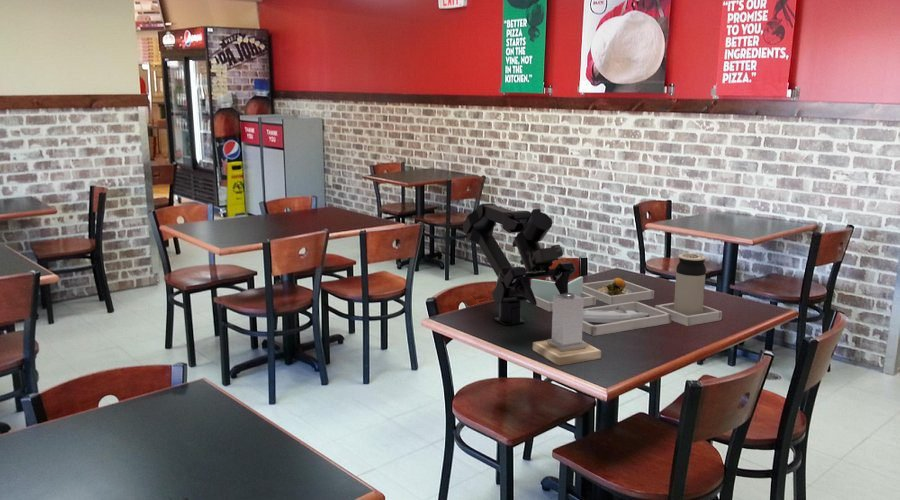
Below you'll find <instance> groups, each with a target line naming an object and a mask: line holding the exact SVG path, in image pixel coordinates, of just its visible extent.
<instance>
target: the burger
mask: <svg viewBox="0 0 900 500" xmlns="http://www.w3.org/2000/svg"><path fill="white" fill-rule="evenodd" d="M624 276H625V275H623V276H622V278H620V277H615V278H613V280H614V281H615V282H611V284H609V285H608V286H606V287H599V288H597V289H596V290H597V291H600V292H603V293H605V294H608V295H610V296H614V295H621V294H628V293H634V291H633V290H631V289H629V288H625V286H626V284H625V282H624V281H625V280H624V279H623V278H624Z"/></svg>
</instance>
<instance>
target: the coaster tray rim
mask: <svg viewBox="0 0 900 500" xmlns="http://www.w3.org/2000/svg"><path fill="white" fill-rule="evenodd" d="M534 296H535V295H534ZM581 297H583V298H584V306H583V308H584V307H590V306H596V305H597V304H596V303H597V299H596V297H595V296H592V295H590V294H587V293H585V292H581ZM535 299H536V303H537V305H536V307H539V308H540V309H542V310H544V311H546V312H553V302H549V301H546V300H544V299H542V298H540V297H537V296H535ZM526 302H527V303H530V302H529V301H528V300H527V301H526ZM530 304H531V303H530Z"/></svg>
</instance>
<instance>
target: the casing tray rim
mask: <svg viewBox="0 0 900 500" xmlns="http://www.w3.org/2000/svg"><path fill="white" fill-rule="evenodd" d="M617 306H624V307H625V309H626V311H630V310H631V311H635V312H637V313H639V312H642V313H649V315H648V316H646V317H643V318H638V319H632V320H626V321H619V322H613V323H600V324H595V325H594V324H593V323H587V322H585V321H583V329H582V333H586V334H588V335H590V336H591V337H595V336H602V335H608V334H614V333H619V332H626V331H633V330H638V329H644V328H651V327H656V326H661V325H667V324H671V323H672V320H671V318H672V314H669V313H666V312H664V311H661V310H658V309H656V308H655V307H653V306H650V305H647V304H645V303H642V302H640V301H633V302H627V303H620V304H613V305H609V304H607V305H602V306H593V307H587V308H586V307H585V308H583V311H588V310H590V311H595V310H598V311H614V310H615V309H616V307H617ZM618 310H623V308H621V307H619V308H618Z"/></svg>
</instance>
